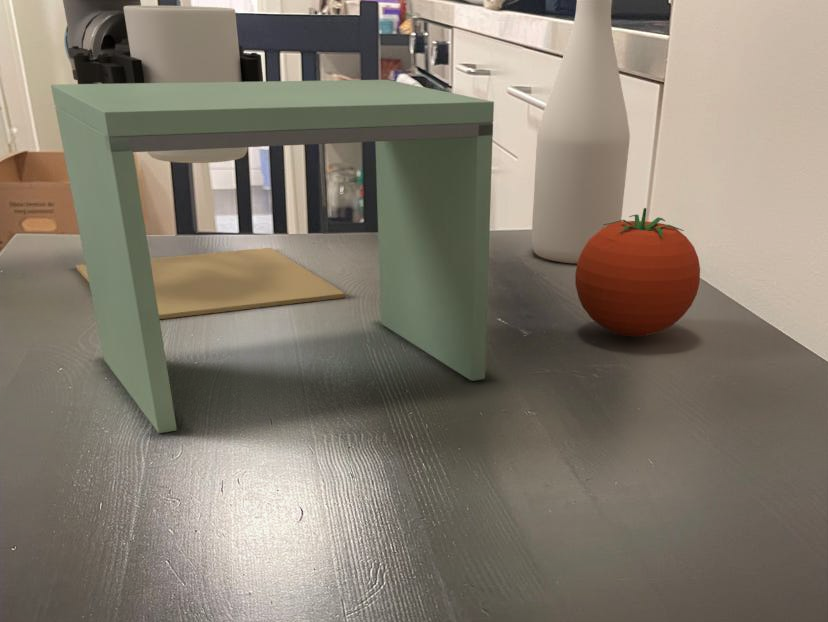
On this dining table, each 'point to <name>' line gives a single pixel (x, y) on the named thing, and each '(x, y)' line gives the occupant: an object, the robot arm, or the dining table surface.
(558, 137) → the wine bottle
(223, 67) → the mug
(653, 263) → the tomato
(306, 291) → the mat
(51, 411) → the dining table surface
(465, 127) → the shelf compartment
